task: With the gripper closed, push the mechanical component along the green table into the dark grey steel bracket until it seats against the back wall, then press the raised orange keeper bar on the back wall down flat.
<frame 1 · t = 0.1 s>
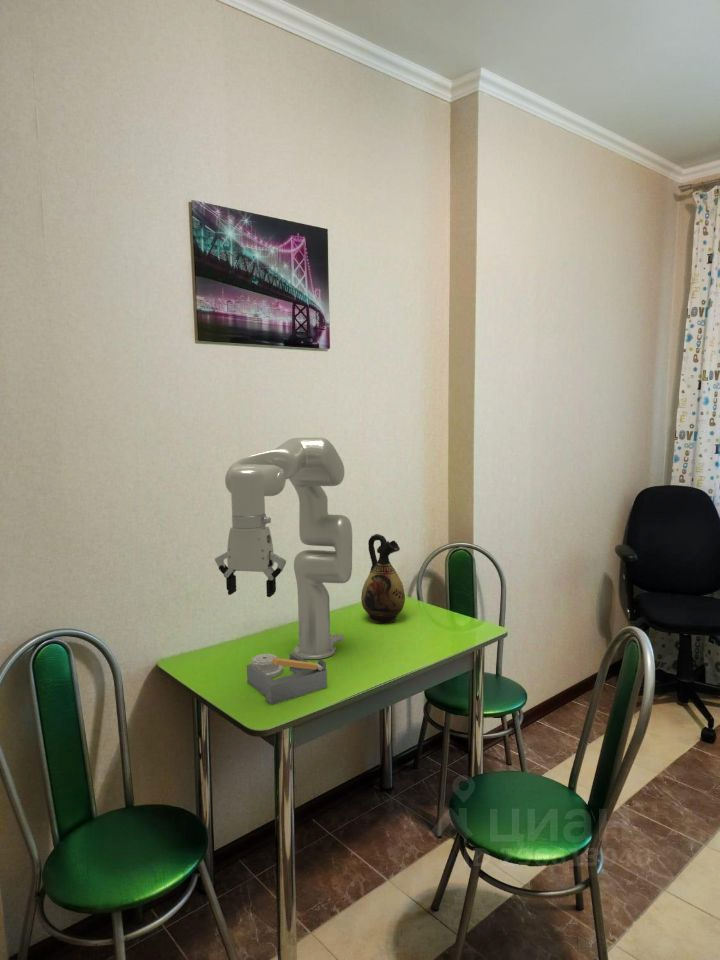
hand: (251, 594, 149), 31 cm above the table, tool pointing down, fingers open, 9 cm apart
keeper bar: (297, 664, 167), point 8 cm above the table, hinge at 20.0°
ceramic jug: (381, 619, 226), on the table
mechanical component: (265, 673, 182), on the table
bracket: (282, 683, 174), on the table
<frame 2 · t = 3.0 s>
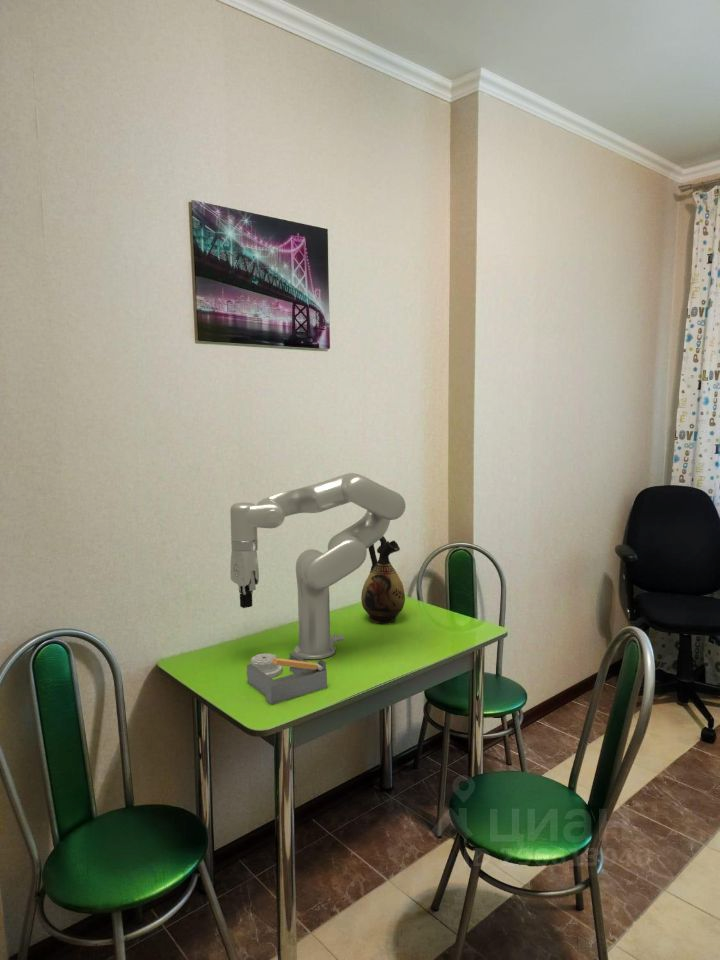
hand: (246, 606, 188), 16 cm above the table, tool pointing down, fingers closed
nothing on the table moved.
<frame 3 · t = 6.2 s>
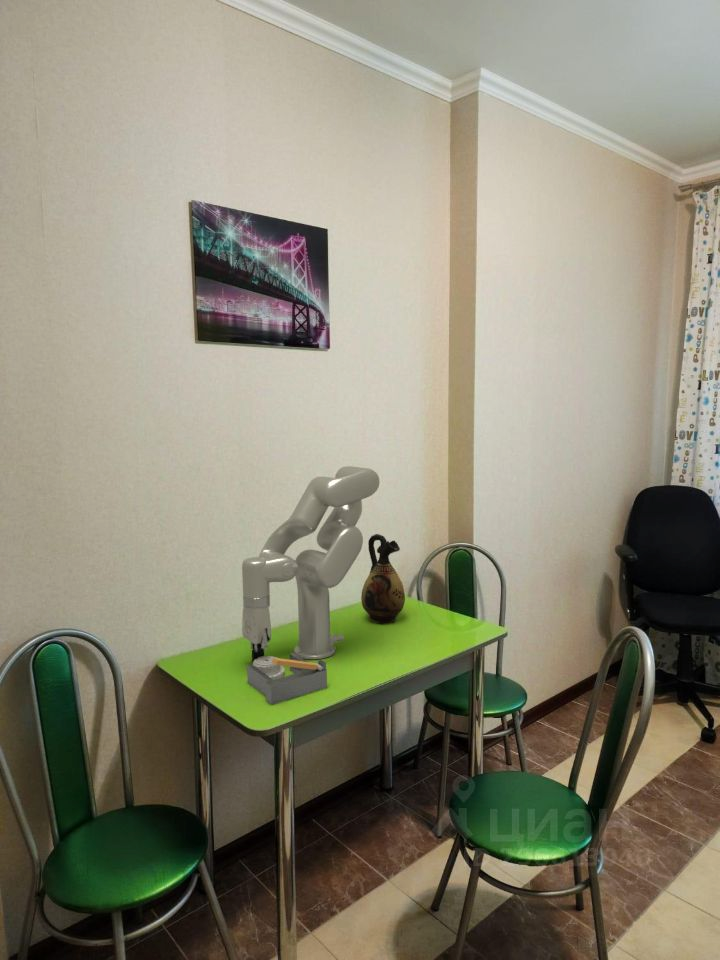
hand: (258, 663, 185), 1 cm above the table, tool pointing down, fingers closed
mechanical component: (267, 676, 180), on the table, touching gripper
everything else where it was.
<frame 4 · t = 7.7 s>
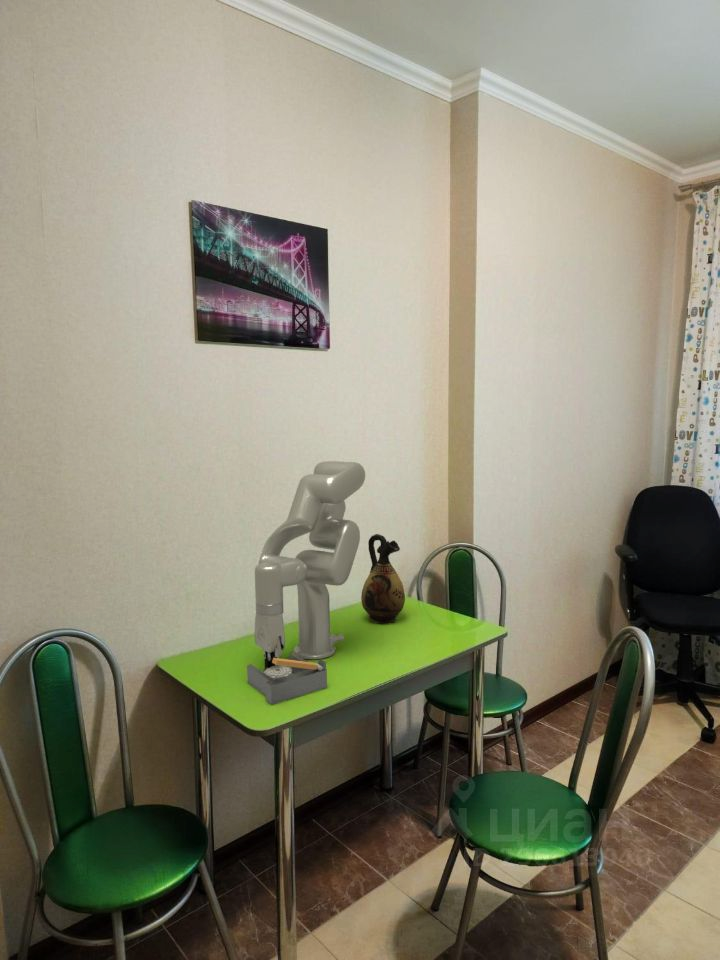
hand: (271, 671, 178), 1 cm above the table, tool pointing down, fingers closed
mechanical component: (278, 686, 173), on the table, touching gripper
everything else where it was.
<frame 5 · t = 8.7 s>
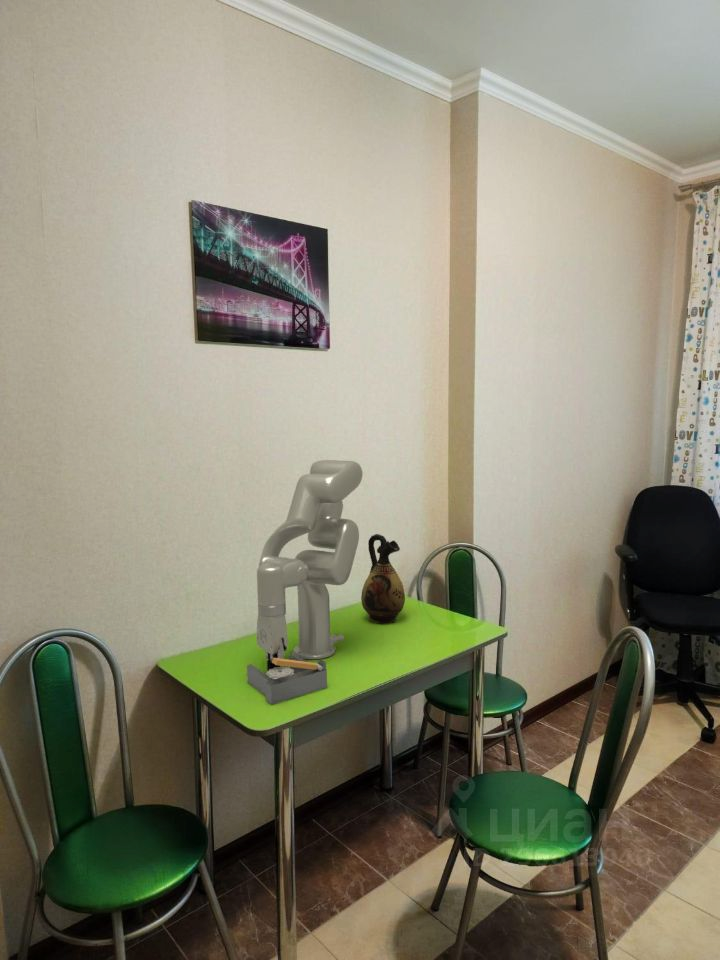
hand: (274, 673, 177), 1 cm above the table, tool pointing down, fingers closed
mechanical component: (280, 687, 172), on the table
everything else where it was.
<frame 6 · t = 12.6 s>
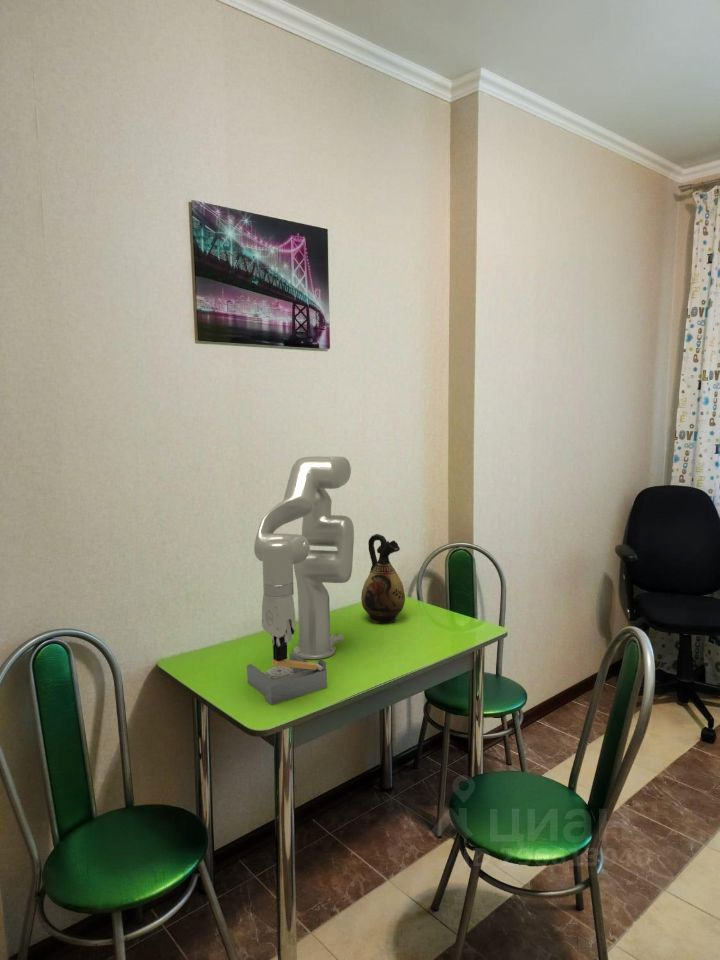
hand: (280, 659, 163), 11 cm above the table, tool pointing down, fingers closed
keeper bar: (297, 664, 167), point 8 cm above the table, hinge at 19.1°, touching gripper
everything else where it was.
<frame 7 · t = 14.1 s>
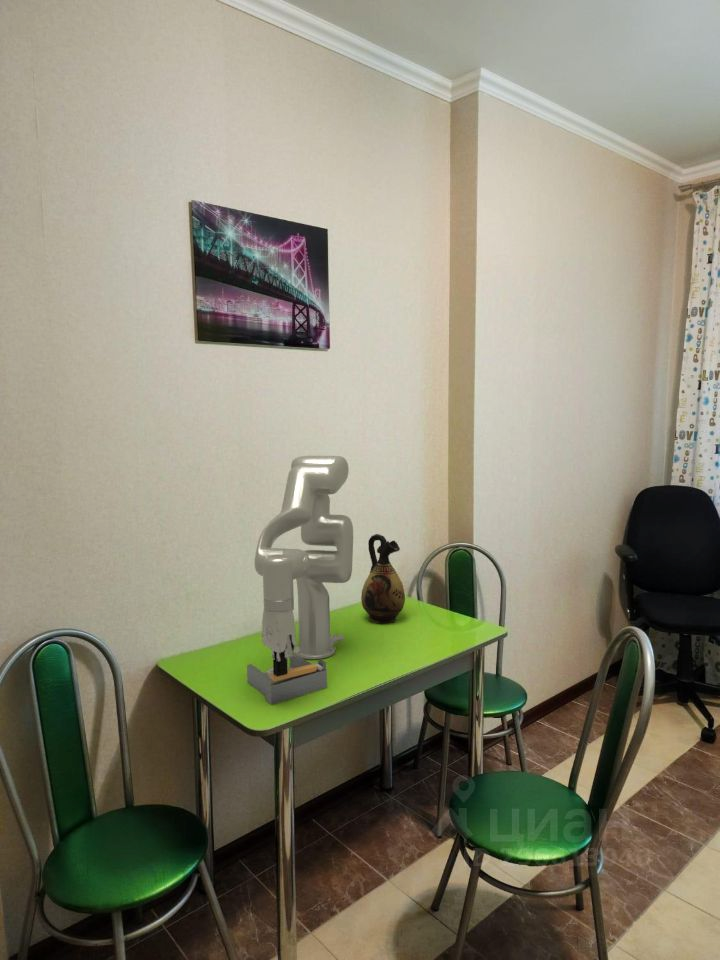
hand: (280, 674, 163), 7 cm above the table, tool pointing down, fingers closed
keeper bar: (296, 671, 167), point 6 cm above the table, hinge at 2.3°, touching gripper
everything else where it was.
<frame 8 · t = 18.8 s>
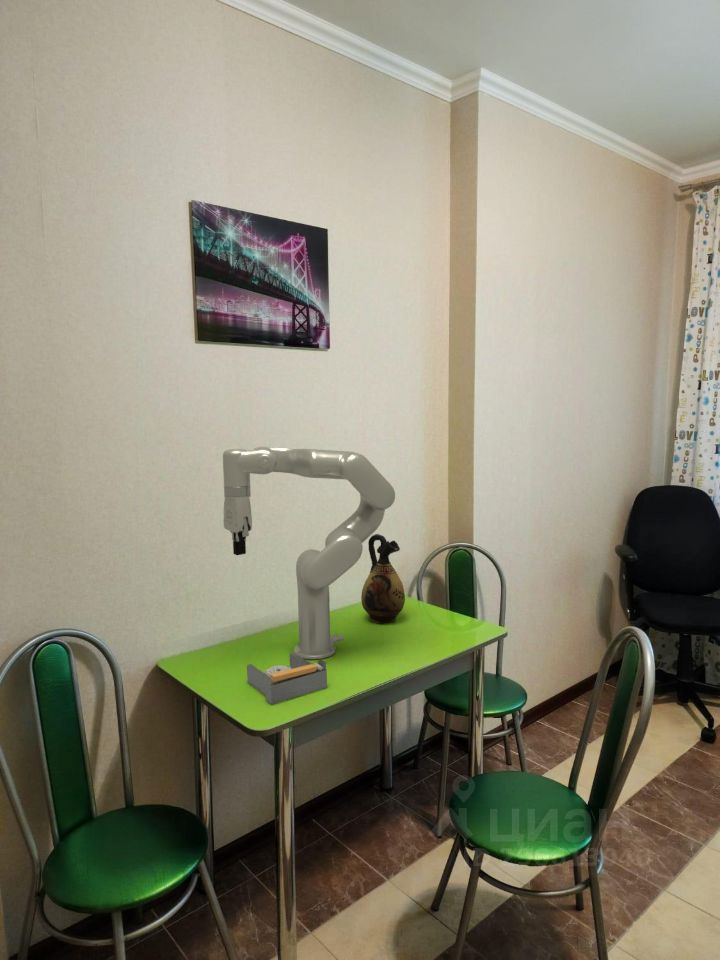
hand: (239, 554, 187), 32 cm above the table, tool pointing down, fingers closed
keeper bar: (296, 671, 167), point 6 cm above the table, hinge at 2.1°
everything else where it was.
at the end: mechanical component 1.6 cm from the target spot, on the table; keeper bar at +2° (first picture: +20°) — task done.
